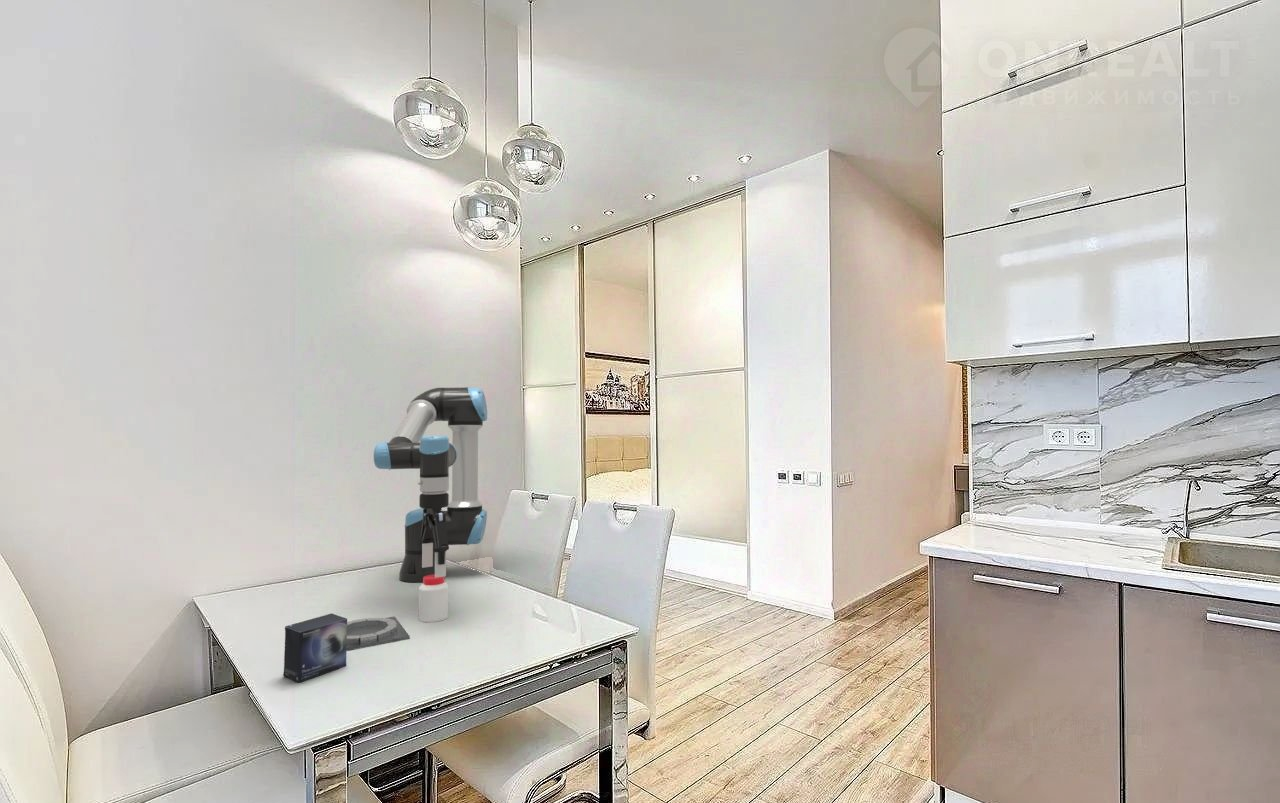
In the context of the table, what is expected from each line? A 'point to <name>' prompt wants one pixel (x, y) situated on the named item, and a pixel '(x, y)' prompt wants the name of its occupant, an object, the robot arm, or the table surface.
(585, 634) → the table surface
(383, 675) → the table surface
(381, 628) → the ring seat
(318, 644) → the small box
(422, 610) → the pill bottle
